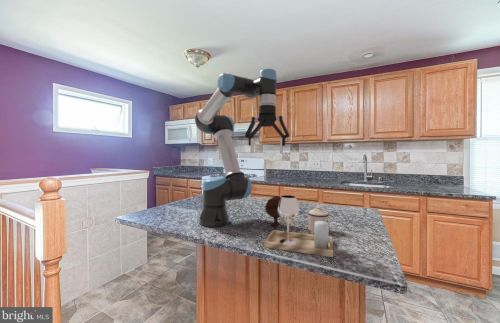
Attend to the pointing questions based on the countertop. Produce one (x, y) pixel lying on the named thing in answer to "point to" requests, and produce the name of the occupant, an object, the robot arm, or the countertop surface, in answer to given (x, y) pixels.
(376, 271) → the countertop surface
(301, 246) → the tray
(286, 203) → the wineglass
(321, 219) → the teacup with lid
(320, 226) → the white rounded capsule
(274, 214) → the ice cream bowl
